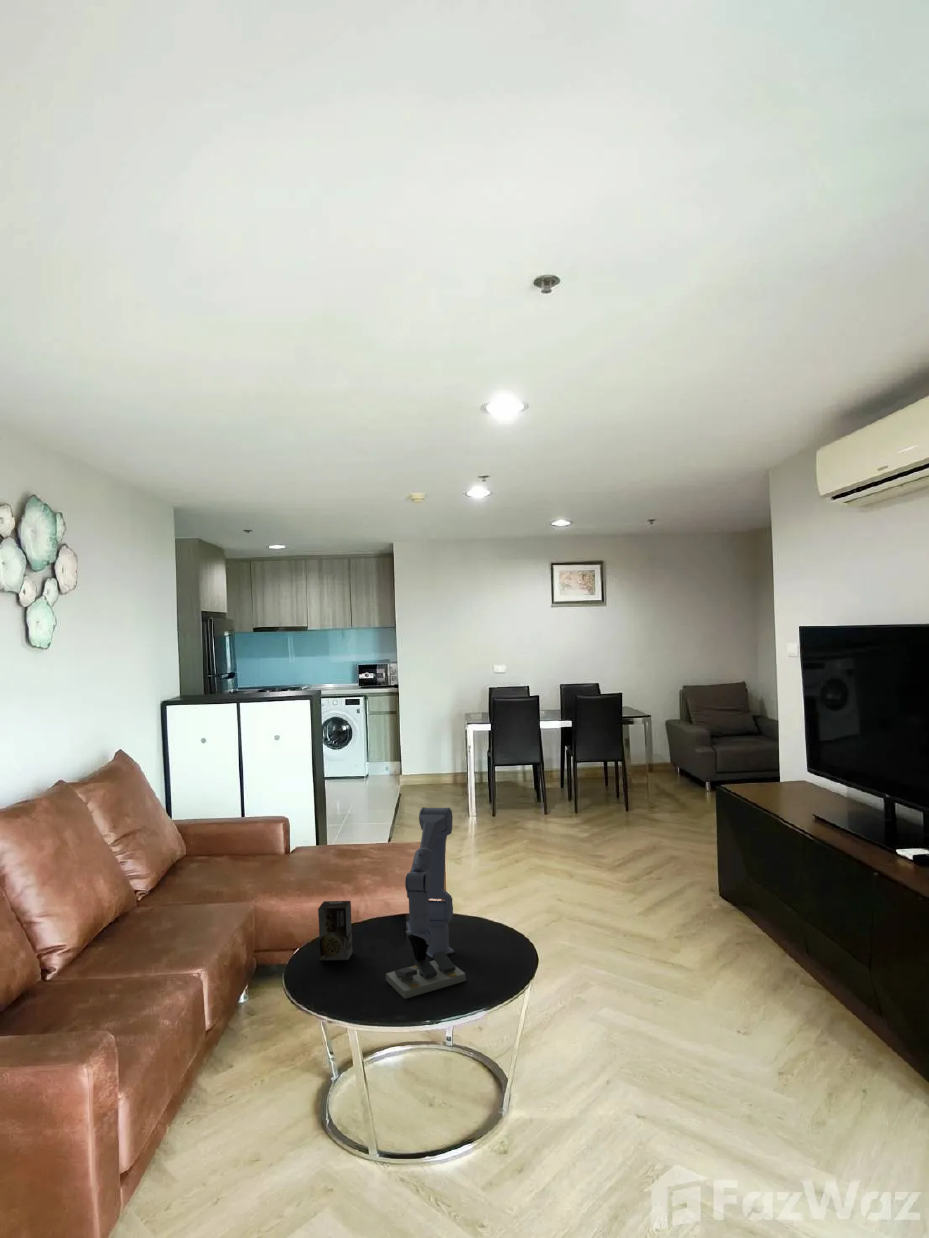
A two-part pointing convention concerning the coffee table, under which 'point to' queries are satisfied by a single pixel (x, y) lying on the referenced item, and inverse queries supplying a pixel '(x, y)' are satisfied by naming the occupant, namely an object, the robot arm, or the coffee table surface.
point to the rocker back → (444, 962)
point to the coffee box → (335, 930)
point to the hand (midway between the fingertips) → (420, 960)
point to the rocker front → (406, 972)
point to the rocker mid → (425, 968)
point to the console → (424, 981)
